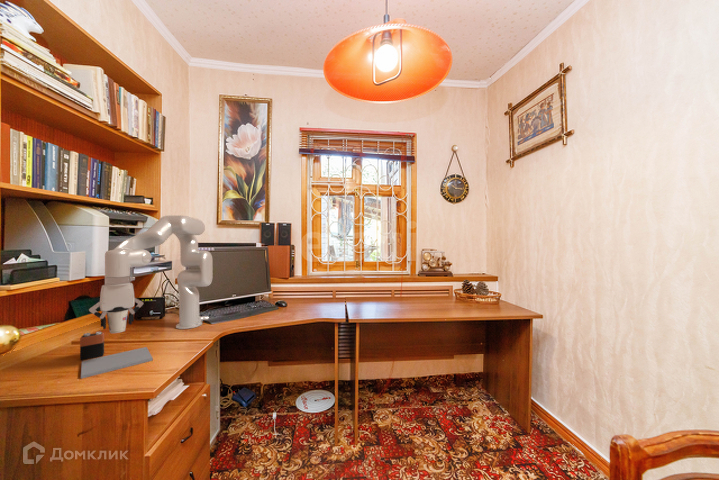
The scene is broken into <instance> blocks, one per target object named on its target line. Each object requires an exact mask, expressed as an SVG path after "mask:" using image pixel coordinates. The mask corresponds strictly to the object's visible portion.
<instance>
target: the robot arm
mask: <svg viewBox="0 0 719 480" xmlns="http://www.w3.org/2000/svg"><path fill="white" fill-rule="evenodd" d="M205 229H206V228H205V223H204V222H203V221H202V220H201V219H199V218H194V217H190V216H187V215H164V216H162V217H160V218H159V219H157V220H156V221H155V222H154V224H152V225H151V226H150V227H149V228H148V229H147V230H146V231H143V232H141V233H138V234H136V235H134V236H132V237H129V238H127V239H125V240H124V241H121V243H120V244H118V245H117V246H116V247H115V248H113V249H111V250H107V251H105V252H104V253H105V254H104V284H103V285H101V289H100V293H99V294H100V296H99V297H100V298H99V301H98V302H97V303H96V304H94V305H93V306H91V307H90V308H88V311H89V312H90V313H91V314H92V315H94V316H96V317H97V318H99V319H100V327H101V328H102V329H103V330H105V329H106V328H107V311H110V310H113V309H114V308H115V307H123V308H128V325H133V324H132V323H133V322H134V320H135V313H136V312H138V311H139V309H140V308H141V307H143V305H144V302H143V301H142V300H140V299H139V298H136V297H135V291H134V290H135V289H134V284H133V283H132V282H133V281H135V280H136V277H135V276H131V267H133V268H134V267H144V266H146V265H149V264H150V263H151V261H152V258H153V257H152V254H151V252H150V251H148V250H147V249H152V248H155V247H158V246H162V245H163V244H164V243H165V242H166V241H167V240H168V238H170V237H171V236H172V235H174V236H175V237H176V238H177V239H178V241H179V246H180V247H179V248H180V249H179V250H180V251H179V252H180V254H179V256H180V265H181V266H182V267H184V268H199V269H184V270H181V271H179V273H178V274H177V277H176V281H177V285H178V292H179V294H178V295H179V296H178V297H179V301H178V302H179V305H178V306H179V309H178V311H179V313H178V314H179V315H178V316H179V319H178V321H179V323H177V324H176V325H175V329H179V330H188V329H193V328H197V327H200V326H202V325H203V321H209V318H210V317H209V315H207V316H206V315H204V316H201V315H200V292H199V289H198V287H200V288H201V287H208V286H210V285H211V284H212V282H213V278H214V277H213V275H214V274H213V270H214V269H213V261H214V260H213V255H212V253H211V252H210V251H207V250H199V241H198V239H197V237H196V236H200V235H202V234H203V233H204V232H205ZM135 303H136V304H137V305H136V306H135ZM134 306H135V307H134ZM98 308H99V310H100V311H101V312H99V311H97V309H98Z"/></svg>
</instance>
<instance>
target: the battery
mask: <svg viewBox="0 0 719 480" xmlns="http://www.w3.org/2000/svg"><path fill="white" fill-rule="evenodd" d="M104 354H105V332H103V331H96V332H95V333H91V332H86V333H83V335H81V337H80V339H79V355H80V356H79V359H80V361H85V360H90V359H94V358H99V357H103V356H104Z"/></svg>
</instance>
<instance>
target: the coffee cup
mask: <svg viewBox="0 0 719 480" xmlns="http://www.w3.org/2000/svg"><path fill="white" fill-rule="evenodd" d="M128 316H129V310H128V308H123V307H115V308H114V309H113V310H110V311H107V314H106V319H107V324H108V330H109V331H108V332H109V333H110V334H119V333H122V332H126V329H127V328H126V327H127V320H128Z"/></svg>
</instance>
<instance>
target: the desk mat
mask: <svg viewBox="0 0 719 480" xmlns="http://www.w3.org/2000/svg"><path fill="white" fill-rule="evenodd" d="M153 359H154V357H153V356H152V354H151V352H150V351H149V349H148V347H147V346H145V347H144V346H143V347H139V348H135V349H131V350H127V351H123V352H117V353H113V354H112V353H111V354H108V355H105V356H104V355H103V356H101V357H96V358H91V359H86V360H81V369H80V370H81V371H80V379H86V378H89V377H93V376H97V375H100V374H104V373H109V372H112V371H116V370H121V369H124V368H128V367H132V366H133V367H134V366H136V365H140V364H144V363H147V362H148V363H149V362H152V361H153Z"/></svg>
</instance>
